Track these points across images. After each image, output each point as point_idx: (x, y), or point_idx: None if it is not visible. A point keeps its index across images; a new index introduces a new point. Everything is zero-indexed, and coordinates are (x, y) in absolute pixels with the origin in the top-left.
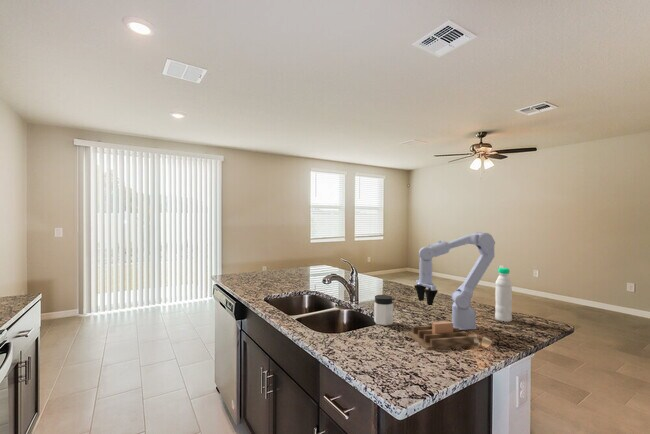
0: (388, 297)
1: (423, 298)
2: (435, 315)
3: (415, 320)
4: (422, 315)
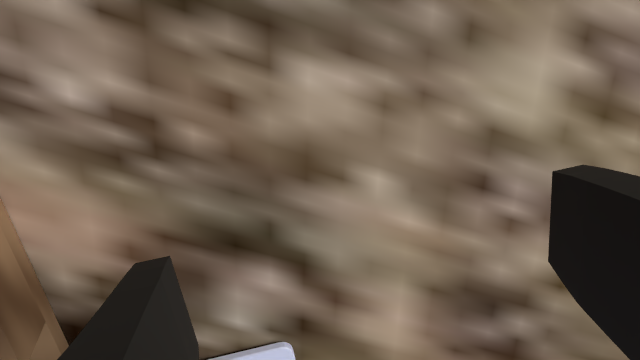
0: None
1: (579, 293)
2: None
3: (462, 23)
4: None
